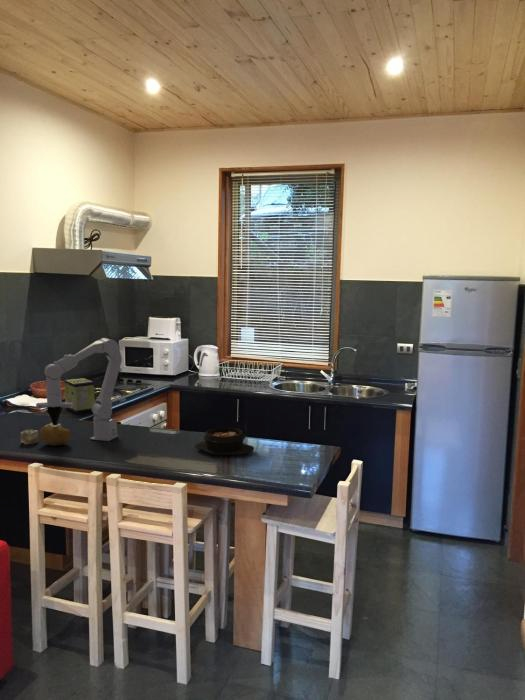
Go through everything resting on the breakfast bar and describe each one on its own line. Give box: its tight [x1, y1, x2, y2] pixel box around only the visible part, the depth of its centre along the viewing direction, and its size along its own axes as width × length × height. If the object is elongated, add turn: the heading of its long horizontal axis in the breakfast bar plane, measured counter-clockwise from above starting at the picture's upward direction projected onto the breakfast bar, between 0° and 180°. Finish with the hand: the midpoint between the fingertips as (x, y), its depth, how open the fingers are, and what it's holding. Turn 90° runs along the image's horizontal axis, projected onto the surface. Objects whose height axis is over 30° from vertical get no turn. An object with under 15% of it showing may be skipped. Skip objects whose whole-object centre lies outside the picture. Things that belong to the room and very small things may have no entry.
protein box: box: [64, 377, 96, 414], centre depth 303 cm, size 10×16×16 cm
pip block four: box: [20, 429, 40, 445], centre depth 244 cm, size 5×5×5 cm
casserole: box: [194, 426, 255, 457], centre depth 233 cm, size 25×19×8 cm
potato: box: [39, 425, 72, 447], centre depth 240 cm, size 10×14×8 cm
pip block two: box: [43, 422, 62, 428], centre depth 254 cm, size 5×5×5 cm
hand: (55, 424), depth 239 cm, fingers closed
